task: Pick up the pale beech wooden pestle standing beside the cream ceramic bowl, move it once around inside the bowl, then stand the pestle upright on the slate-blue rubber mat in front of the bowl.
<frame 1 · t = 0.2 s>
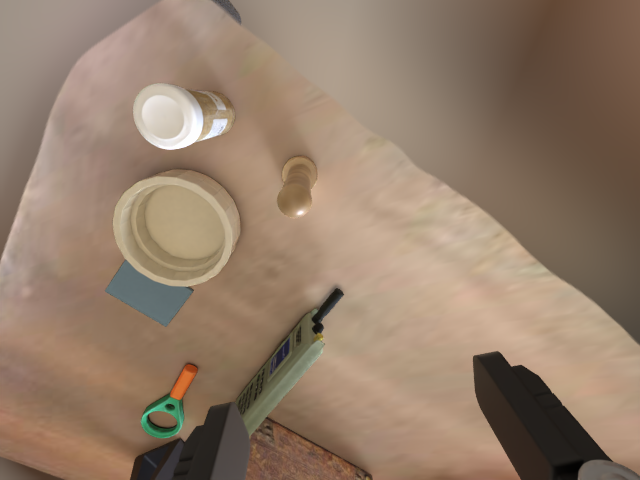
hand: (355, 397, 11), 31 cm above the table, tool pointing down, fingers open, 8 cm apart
magnifying glass: (174, 397, 51), on the table
sprinkles bottle: (215, 114, 37), on the table
handheld radio: (287, 348, 48), on the table
phone stand: (169, 457, 56), on the table
rest mat: (150, 290, 44), on the table
book: (298, 457, 57), on the table
bowl: (189, 220, 41), on the table
wooden pestle: (300, 173, 39), on the table
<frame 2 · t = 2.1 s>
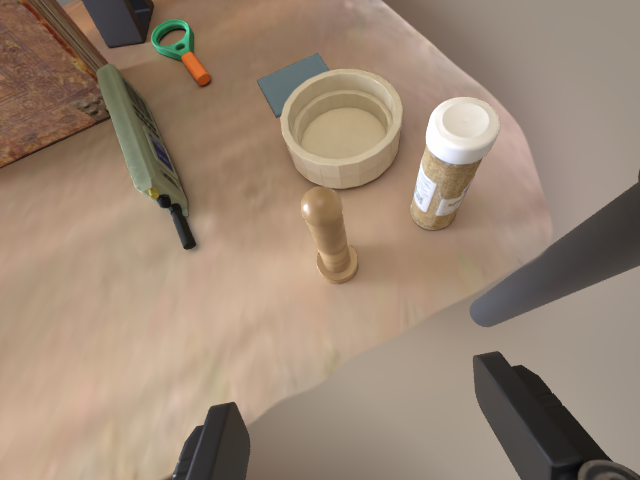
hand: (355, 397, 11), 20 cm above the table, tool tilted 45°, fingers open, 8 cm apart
magnifying glass: (186, 57, 49), on the table
sprinkles bottle: (431, 212, 35), on the table
handheld radio: (164, 171, 42), on the table
phone stand: (133, 27, 54), on the table
rest mat: (298, 85, 44), on the table
book: (40, 127, 48), on the table
bowl: (343, 144, 39), on the table
wooden pestle: (338, 264, 34), on the table
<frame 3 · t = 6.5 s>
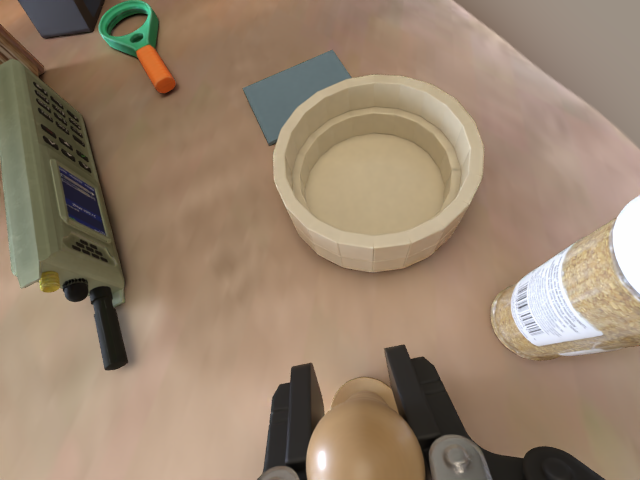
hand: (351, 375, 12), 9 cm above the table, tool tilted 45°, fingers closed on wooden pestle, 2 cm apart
magnifying glass: (146, 53, 35), on the table
sprinkles bottle: (526, 321, 20), on the table
handheld radio: (97, 223, 28), on the table
phone stand: (80, 11, 40), on the table
rest mat: (302, 97, 30), on the table
bowl: (372, 192, 25), on the table
wooden pestle: (366, 414, 19), on the table, touching gripper
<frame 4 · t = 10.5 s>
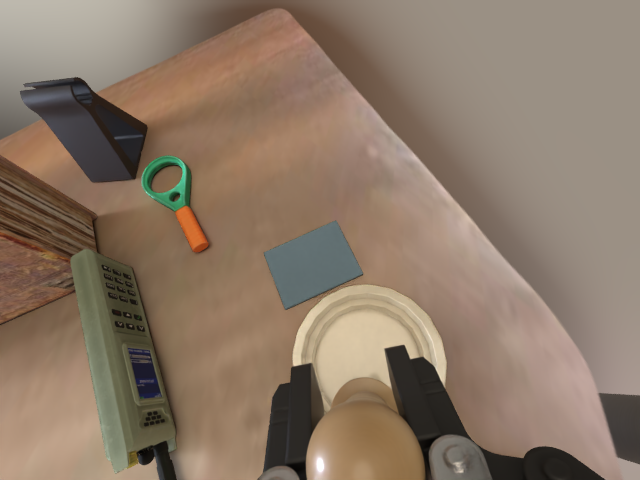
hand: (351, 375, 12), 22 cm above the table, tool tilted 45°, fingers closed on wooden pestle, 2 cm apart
magnifying glass: (181, 205, 42), on the table
handheld radio: (150, 372, 35), on the table
phone stand: (122, 155, 47), on the table
rest mat: (312, 263, 37), on the table
book: (8, 287, 41), on the table
bowl: (367, 361, 32), on the table
wooden pestle: (366, 414, 19), point 13 cm above the table, touching gripper
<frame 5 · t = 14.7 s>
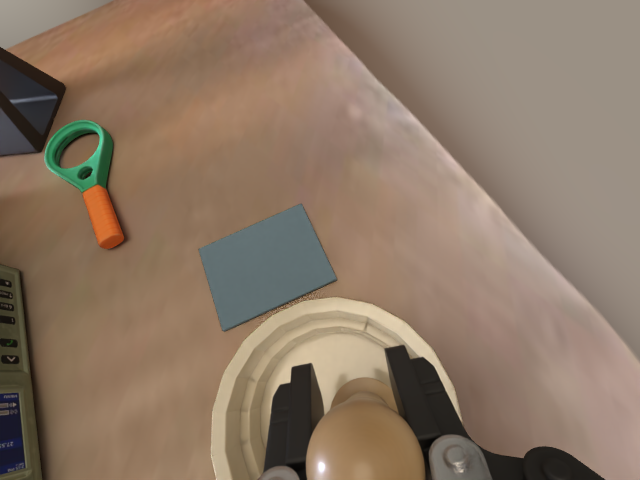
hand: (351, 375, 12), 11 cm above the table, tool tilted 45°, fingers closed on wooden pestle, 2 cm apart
magnifying glass: (97, 185, 31), on the table
handheld radio: (25, 423, 24), on the table
phone stand: (30, 122, 36), on the table
rest mat: (265, 264, 26), on the table
bowl: (339, 413, 21), on the table
wooden pestle: (366, 414, 19), point 2 cm above the table, touching gripper
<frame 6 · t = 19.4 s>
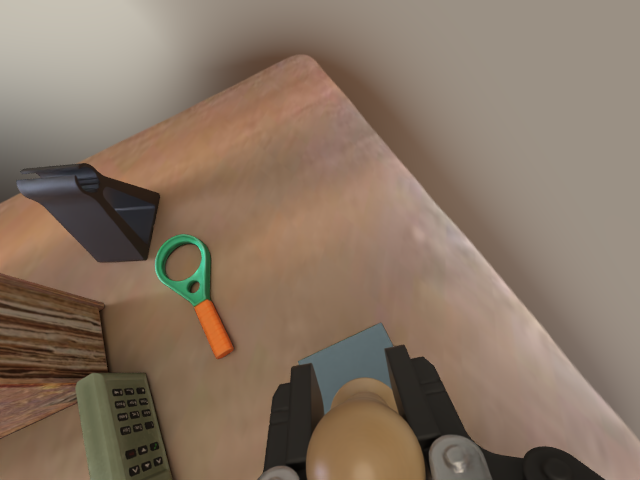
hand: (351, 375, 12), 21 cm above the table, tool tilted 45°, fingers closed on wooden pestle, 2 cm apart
magnifying glass: (201, 294, 37), on the table
phone stand: (132, 228, 42), on the table
rest mat: (355, 377, 32), on the table
book: (5, 392, 36), on the table
wooden pestle: (366, 414, 19), point 12 cm above the table, touching gripper
when the fingers open (9 cm above the table, at t = 23.1 s): wooden pestle stays where it is, resting on rest mat.
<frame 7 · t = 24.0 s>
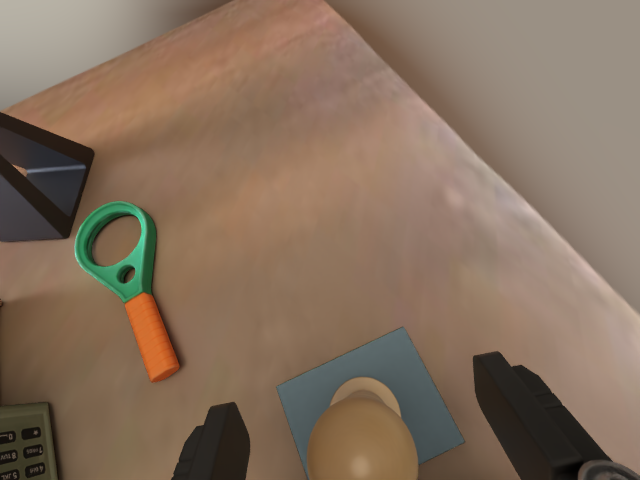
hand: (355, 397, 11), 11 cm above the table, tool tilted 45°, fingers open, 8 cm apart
magnifying glass: (139, 285, 26), on the table
phone stand: (54, 196, 30), on the table
rest mat: (364, 412, 20), on the table
wooden pestle: (364, 413, 20), resting on rest mat
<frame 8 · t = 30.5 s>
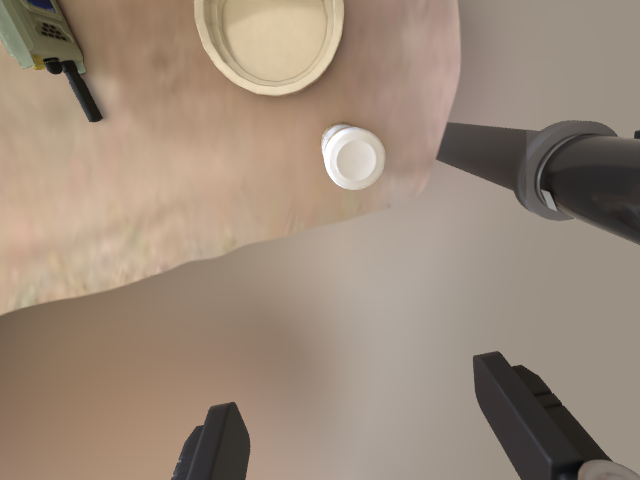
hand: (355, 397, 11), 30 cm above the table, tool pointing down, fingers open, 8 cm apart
sprinkles bottle: (340, 143, 37), on the table
bowl: (275, 27, 33), on the table
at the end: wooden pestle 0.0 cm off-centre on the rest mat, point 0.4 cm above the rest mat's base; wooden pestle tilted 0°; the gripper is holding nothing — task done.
